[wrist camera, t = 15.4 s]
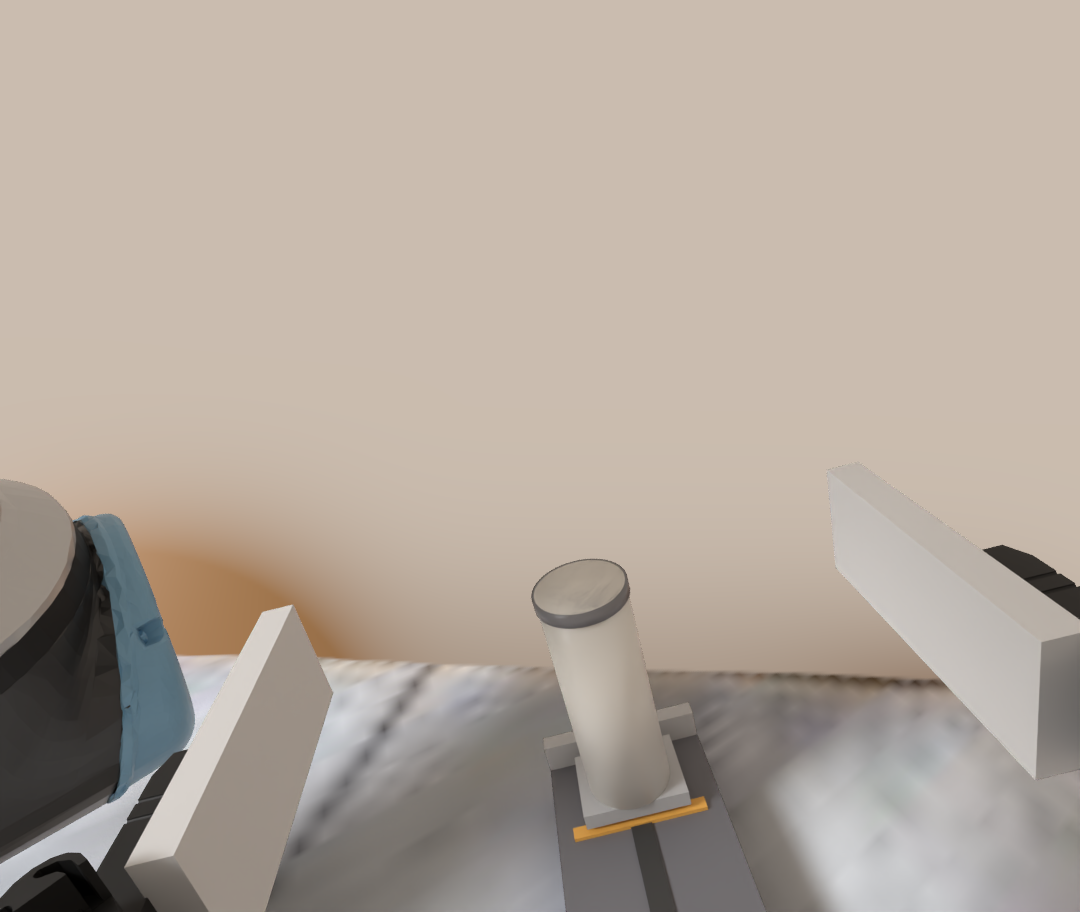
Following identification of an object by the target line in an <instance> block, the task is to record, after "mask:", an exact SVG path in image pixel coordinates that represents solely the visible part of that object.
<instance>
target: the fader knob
mask: <svg viewBox="0 0 1080 912" xmlns="http://www.w3.org/2000/svg"><path fill="white" fill-rule="evenodd" d="M629 595H630V587H629V583H628V578H627V574H626V572H625V570H624V569H623V568H622V567H621V566H620V565H618V564H616V563H614V562H612V561H608V560H603V559H584V560H578V561H574V562H570V563H567V564H564V565H561V566H559V567H557V568H555V569H553V570H551V571H550V572H548V573H547V574H545V575H544V576H543V577H542V578H541V579H540V580H539V581H538V582H537V583H536V585H535V586H534V588H533V591H532V596H531V598H532V602H533V606H534V609H535V612H536V615H537V616H538V618H539V619H540V621H541V624H542V628H543V631H544V635H545V638H546V641H547V645H548V648H549V651H550V655H551V658H552V662H553V665H554V668H555V672H556V675H557V678H558V682H559V685H560V689H561V692H562V695H563V699H564V702H565V706H566V709H567V712H568V716H569V719H570V722H571V726H572V729H573V733H574V736H575V739H576V743H577V746H578V749H579V753H580V756H579V757H575V764H576V771H577V777H578V784H579V790H580V797H581V803H582V810H583V816H584V820H585V824H586V827H587V830H589V829H593V828H597V827H601V826H605V825H609V824H613V823H617V822H621V821H625V820H629V819H633V818H637V817H641V816H646V815H650V814H654V813H658V812H662V811H666V810H670V809H674V808H678V807H682V806H686V805H690V804H691V800H690V795H689V791H688V788H687V785H686V782H685V779H684V776H683V773H682V770H681V767H680V764H679V762H678V759H677V756H676V753H675V750H674V747H673V744H672V741H671V738H670V735H669V734H668V735H664V736H662V734H661V730H660V725H659V721H658V717H657V713H656V708H655V704H654V700H653V696H652V691H651V687H650V683H649V678H648V674H647V670H646V666H645V661H644V657H643V653H642V648H641V644H640V640H639V636H638V631H637V627H636V623H635V619H634V614H633V610H632V606H631V601H630V597H629Z"/></svg>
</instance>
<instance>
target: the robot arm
mask: <svg viewBox="0 0 1080 912" xmlns="http://www.w3.org/2000/svg"><path fill="white" fill-rule="evenodd" d="M827 478H828V489H829V500H830V511H831V522H832V531H833V544H834V555H835V566H836V569H837V570H838V571H839V572H840V573H841V574H842V575H843V576H844V577H845V578H846V579H847V580H848V581H849V582H850V583H851V585H852V586H853V587H854V588H855V589H856V590H857V591H858V592H859V593H860V594H861V595H862V596H863V597H864V598H865V599H866V600H867V602H868V603H869V604H870V605H871V606H872V607H873V608H874V609H875V610H876V611H877V612H878V613H879V614H880V615H881V616H882V618H884V620H885V621H886V622H887V623H888V624H889V625H890V626H891V627H892V628H893V629H894V630H895V631H896V632H897V633H898V634H899V635H900V637H901V638H902V639H903V640H904V641H905V642H906V643H907V644H908V645H909V646H910V647H911V648H912V649H913V650H914V652H915V653H916V654H917V655H918V656H919V657H920V658H921V659H922V660H923V661H924V662H925V663H926V664H927V665H928V666H929V667H930V669H931V670H932V671H933V672H934V673H935V674H936V675H937V676H938V677H939V678H940V679H941V680H942V681H943V682H944V683H945V685H946V686H947V687H948V688H949V689H950V690H951V691H952V692H953V693H954V694H955V695H956V696H957V697H958V698H959V699H960V700H961V702H962V703H963V704H964V705H965V706H966V707H967V708H968V709H969V710H970V711H971V712H972V713H973V714H974V715H975V716H976V718H977V719H978V720H979V721H980V722H981V723H982V724H983V725H984V726H985V727H986V728H987V729H988V730H989V731H990V732H991V733H992V735H993V736H994V737H995V738H996V739H997V740H998V741H999V742H1000V743H1001V744H1002V745H1003V746H1004V747H1005V748H1006V749H1007V750H1008V752H1009V753H1010V754H1011V755H1012V756H1013V757H1014V758H1015V759H1016V760H1017V761H1018V762H1019V763H1020V764H1021V765H1022V766H1023V768H1024V769H1025V770H1026V771H1027V772H1028V773H1029V774H1030V775H1031V776H1032V777H1033V778H1034V779H1035V780H1039V779H1043V778H1047V777H1051V776H1055V775H1059V774H1063V773H1068V772H1072V771H1076V770H1080V586H1079V587H1076V585H1075V583H1074V582H1072V581H1071V580H1069V579H1068V578H1066V577H1065V576H1063V575H1062V574H1057V573H1056V571H1055V570H1054V569H1053V568H1051V567H1049V566H1048V565H1047V564H1045V563H1043V562H1042V561H1040V560H1039V559H1037V558H1036V557H1034V556H1033V555H1030V554H1027V553H1024V552H1021V551H1018V550H1015V549H1013V548H1009V547H1007V546H1004V545H1000V546H996V547H992V548H988V549H984V550H981V549H980V548H978V547H977V546H976V545H974V544H973V543H971V542H970V541H969V540H967V539H966V538H965V537H963V536H961V535H960V534H959V533H957V532H956V531H955V530H953V529H952V528H950V527H949V526H948V525H946V524H945V523H943V522H942V521H940V520H939V519H938V518H936V517H935V516H934V515H932V514H931V513H929V512H928V511H927V510H925V509H924V508H922V507H921V506H919V505H918V504H917V503H915V502H914V501H913V500H911V499H910V498H908V497H907V496H906V495H904V494H903V493H901V492H900V491H899V490H897V489H896V488H894V487H893V486H891V485H890V484H889V483H887V482H886V481H885V480H883V479H882V478H880V477H879V476H878V475H876V474H875V473H873V472H872V471H871V470H869V469H868V468H866V467H865V466H864V465H862V464H861V463H859V462H856V463H852V464H848V465H844V466H840V467H836V468H832V469H828V470H827ZM332 695H333V692H332V689H331V687H330V685H329V683H328V681H327V678H326V676H325V674H324V672H323V669H322V667H321V665H320V663H319V661H318V658H317V656H316V654H315V652H314V650H313V647H312V645H311V643H310V641H309V639H308V636H307V634H306V632H305V630H304V627H303V625H302V623H301V621H300V619H299V616H298V614H297V612H296V610H295V607H294V605H289V606H285V607H281V608H277V609H273V610H269V611H265V612H262V614H261V616H260V618H259V620H258V621H257V623H256V625H255V627H254V629H253V631H252V633H251V634H250V636H249V638H248V640H247V642H246V644H245V645H244V647H243V649H242V651H241V653H240V655H239V656H238V658H237V660H236V662H235V664H234V666H233V668H232V669H231V671H230V673H229V675H228V677H227V679H226V680H225V682H224V684H223V686H222V688H221V690H220V692H219V693H218V695H217V697H216V699H215V701H214V703H213V704H212V706H211V708H210V710H209V712H208V714H207V716H206V717H205V719H204V721H203V723H202V725H201V727H200V728H199V730H198V732H197V734H196V736H195V738H194V740H193V741H192V743H191V745H190V747H189V749H187V750H183V749H184V747H185V746H186V745H187V743H188V741H189V740H190V738H191V735H192V732H193V729H194V724H195V714H194V709H193V705H192V701H191V697H190V694H189V691H188V688H187V685H186V682H185V679H184V676H183V673H182V670H181V667H180V664H179V662H178V659H177V656H176V653H175V651H174V648H173V646H172V643H171V640H170V638H169V635H168V633H167V631H166V629H165V628H164V626H163V619H162V617H161V615H160V612H159V610H158V607H157V604H156V600H155V597H154V595H153V592H152V589H151V587H150V584H149V582H148V579H147V577H146V574H145V572H144V569H143V567H142V565H141V562H140V559H139V557H138V555H137V552H136V550H135V548H134V545H133V543H132V541H131V538H130V536H129V534H128V532H127V530H126V528H125V526H124V524H123V523H122V521H121V520H120V518H118V517H117V516H114V515H112V514H101V515H97V516H81V517H80V518H78V519H77V520H73V521H72V519H71V518H70V516H69V514H68V513H67V511H66V510H65V509H64V508H63V507H62V506H61V505H60V504H59V503H58V502H57V500H55V499H54V498H53V497H52V496H51V495H50V494H49V493H47V492H45V491H43V490H41V489H39V488H37V487H35V486H32V485H28V484H25V483H21V482H17V481H11V480H5V479H0V864H1V863H3V862H4V861H6V860H8V859H10V858H11V857H13V856H15V855H17V854H18V853H20V852H22V851H24V850H25V849H27V848H29V847H31V846H32V845H34V844H36V843H38V842H39V841H41V840H43V839H45V838H46V837H48V836H50V835H52V834H53V833H55V832H57V831H59V830H60V829H62V828H64V827H66V826H67V825H69V824H71V823H73V822H74V821H76V820H78V819H80V818H81V817H83V816H85V815H87V814H88V813H90V812H92V811H94V810H95V809H97V808H99V807H101V806H102V805H104V804H106V803H109V804H110V803H111V802H113V801H115V800H117V799H119V798H120V797H121V796H122V795H123V794H124V793H125V792H126V791H127V789H128V787H129V786H131V785H132V784H134V783H136V782H137V781H139V780H140V779H142V778H143V777H145V776H147V775H148V774H150V773H151V772H153V771H154V770H156V769H157V768H159V767H160V768H159V769H158V770H157V771H156V772H155V773H154V774H153V775H152V777H151V779H150V780H149V782H148V784H147V785H146V787H145V789H144V791H143V792H142V794H141V796H140V798H139V799H138V801H139V803H138V804H136V805H135V806H134V808H133V810H132V811H131V813H130V815H129V817H128V818H127V824H124V825H123V827H122V829H121V830H120V832H119V834H118V836H117V837H116V839H115V841H114V842H113V844H112V846H111V848H110V849H109V851H108V853H107V855H106V856H105V858H104V860H103V861H102V863H101V865H100V867H99V868H98V870H97V872H96V871H95V870H94V869H93V867H92V866H91V864H90V863H89V861H88V860H87V859H86V858H85V857H84V856H83V855H82V854H81V853H65V854H62V855H59V856H56V857H53V858H50V859H49V860H47V861H45V862H43V863H42V864H40V865H38V866H36V867H35V868H33V869H31V870H30V871H29V872H28V873H26V874H25V875H24V876H23V877H21V878H20V879H19V880H18V881H16V882H15V883H14V884H13V885H12V886H11V887H10V888H9V889H8V890H7V892H6V893H5V894H4V895H3V896H2V897H1V898H0V912H265V910H266V907H267V904H268V901H269V898H270V894H271V891H272V888H273V885H274V882H275V878H276V875H277V872H278V869H279V865H280V862H281V859H282V856H283V853H284V849H285V846H286V843H287V840H288V837H289V833H290V830H291V827H292V824H293V820H294V817H295V814H296V811H297V808H298V804H299V801H300V798H301V795H302V792H303V788H304V785H305V782H306V779H307V775H308V772H309V769H310V766H311V763H312V759H313V756H314V753H315V750H316V747H317V743H318V740H319V737H320V734H321V730H322V727H323V724H324V721H325V718H326V714H327V711H328V708H329V705H330V702H331V698H332ZM182 750H183V751H182Z"/></svg>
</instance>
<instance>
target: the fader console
mask: <svg viewBox="0 0 1080 912" xmlns="http://www.w3.org/2000/svg"><path fill="white" fill-rule="evenodd" d="M656 713H657V717H658V721H659V725H660V730H661V734H662V736H664V735H668V734H669V735H670V738H671V741H672V744H673V747H674V750H675V753H676V756H677V759H678V762H679V764H680V767H681V770H682V773H683V776H684V779H685V782H686V785H687V788H688V791H689V795H690V800H691V804H690V805H686V806H682V807H678V808H674V809H670V810H666V811H662V812H658V813H654V814H650V815H646V816H641V817H637V818H633V819H629V820H625V821H621V822H617V823H613V824H609V825H605V826H601V827H597V828H593V829H589V830H587V827H586V824H585V820H584V816H583V810H582V803H581V797H580V790H579V784H578V777H577V771H576V764H575V757H579V756H580V753H579V749H578V746H577V743H576V739H575V736H574V733H573V731H571V732H567V733H563V734H559V735H554V736H550V737H546V738H543V744H544V751H545V754H546V757H547V761H548V764H549V767H550V770H551V777H552V787H553V796H554V805H555V814H556V824H557V833H558V842H559V851H560V861H561V870H562V879H563V888H564V897H565V907H566V912H766V910H765V907H764V904H763V902H762V899H761V897H760V894H759V892H758V889H757V887H756V884H755V881H754V879H753V876H752V874H751V871H750V869H749V866H748V863H747V861H746V858H745V856H744V853H743V851H742V848H741V845H740V843H739V840H738V838H737V835H736V833H735V830H734V828H733V825H732V822H731V820H730V817H729V815H728V812H727V810H726V807H725V804H724V802H723V799H722V797H721V794H720V792H719V789H718V787H717V784H716V781H715V779H714V776H713V774H712V771H711V769H710V766H709V763H708V761H707V758H706V756H705V753H704V751H703V748H702V745H701V743H700V740H699V738H698V735H697V731H696V726H695V721H694V717H693V712H692V710H691V707H690V705H689V702H687V703H683V704H679V705H675V706H671V707H667V708H663V709H659V710H656Z"/></svg>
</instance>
